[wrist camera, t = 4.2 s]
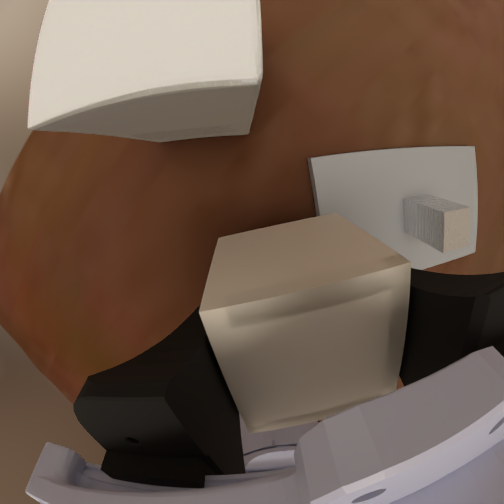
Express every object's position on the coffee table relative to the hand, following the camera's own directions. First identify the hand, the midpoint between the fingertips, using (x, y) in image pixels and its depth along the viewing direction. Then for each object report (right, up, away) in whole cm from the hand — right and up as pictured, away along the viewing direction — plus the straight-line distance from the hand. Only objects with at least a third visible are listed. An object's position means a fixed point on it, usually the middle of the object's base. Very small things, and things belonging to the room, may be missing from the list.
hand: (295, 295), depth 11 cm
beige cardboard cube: (0, +1, +1) cm, 2 cm away
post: (+11, +5, +8) cm, 14 cm away
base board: (+11, +5, +8) cm, 14 cm away
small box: (-5, +13, +5) cm, 15 cm away
